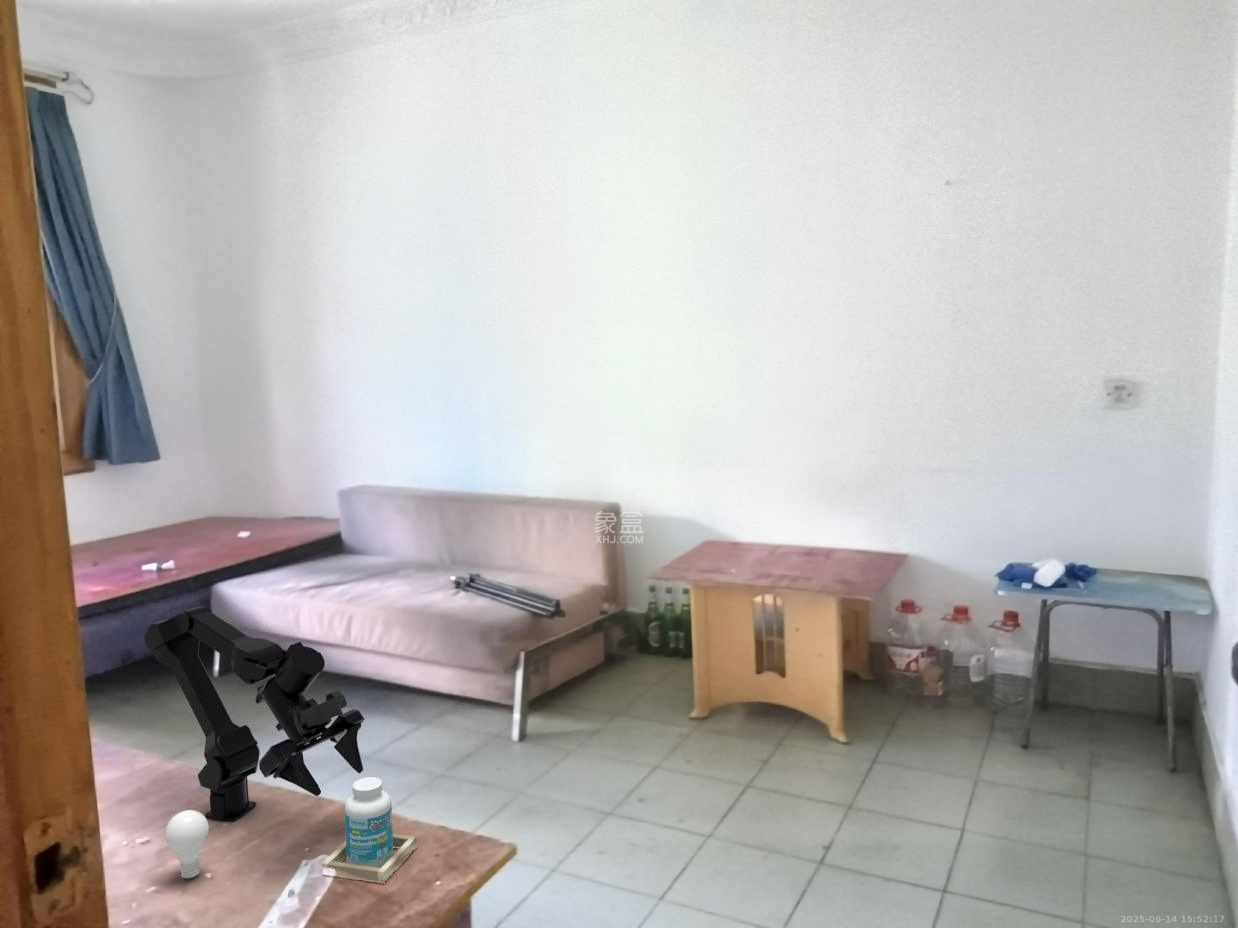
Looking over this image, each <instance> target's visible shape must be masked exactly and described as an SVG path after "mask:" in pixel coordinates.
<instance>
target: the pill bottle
mask: <svg viewBox="0 0 1238 928" xmlns="http://www.w3.org/2000/svg"><path fill="white" fill-rule="evenodd" d="M392 807H393V806H392V798H391V795H389V794H388V793H387V792H386V791H384V790H383V782H382V780H381V779H380V778H378V777H373V776H371V777H363V778H360V779H358V780H356V781H354V782H353V784H352V794H351V795H350V796H349V797H348V798H347V800H346V801H345V804H344V822H345V826H344V827H345V841H346V851H347V858H346V862H347V863H348V864H355V865H362V866H369V867H376V868H382V866H383V865H384V864H385V863H386V862H387V861H388V860H389V859H390V858H391V857H392V856H393V855H394V848H393V834H394V833H393V832H394V831H393V828H394V827H393V808H392Z"/></svg>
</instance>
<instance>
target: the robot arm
mask: <svg viewBox="0 0 1238 928" xmlns="http://www.w3.org/2000/svg"><path fill="white" fill-rule="evenodd" d="M144 642H145V643H144V644H145V645H146V647H147V648H148V649H149V651H150V653H151V654H152V655H153V657H154V659H155V660H156V661H157V662H158V663H160V664H162V665H164V666H166V667H167V668H169V669H170V670H172V672H173V675H174V676H175V679H176V680H177V682H178V684H179V686H180V688H181V691H182V692H183V695H184V697H185V698H186V700H187V702H188V704H189V706H190V709H191V710H192V712H193V715H194V716H195V719H196V720H197V722H198V724H199V726H200V728H201V730H202V733H204V734H203V735H204V736H205V744H204V753H203V757H204V759H205V762H206V763H205V764H204V766H203V767H202V769H201V770H200V771H199V772H198V774H197V777H198V782H199V785H200V787H203V788H205V789H208V790H209V793H210V795H209V804H210V810H209V811H207V812H206V813H205V814H204V816H205V817H206V819H214V820H221V821H222V820H223V821H229V822H235V821H237V820H238V819H240V818H241V817H243V816H244V815H246V813H248V812H249V811H250V810H251V809H253V808H255V807H256V806H257V802H256V801H250V800H249V799H250V796H249V784H248V783H249V782H248V777H249V776H251V775H255V774H256V773H257V769H259V770H260V772H261V774H262V775H263V777H264V778H268V777H270V776H272V778H273V779H277V778H280V779H281V780H284V781H286V782H287V783H288V782H289V783H291V784H294V785H295V786H297V787H299V788H301V789H302V790H305V791H307V792H308V793H311V794H312V795H314V797H318V796H320V795H321V794H322V790H321V788H320V786H319V784H318V782H317V781H316V779H315V778H314V776H313V775H312V774H311V773H312V772H311V771H310V770H309V769H308V767H307V765H306V764H305V761H304V760H305V759H304V752H305V751H308V750H310V749H312V748H314V747H316V746H318V745H320V744H322V743H325V742H326V741H328V740H330V742H332V743H335V745H334V746H333V748H334V750H336V751H337V752H338V753H339V755H340V756H341V757H342V758H343V759H344V761H346V762H347V764H348V765H349V766H350V767H351V768H352V769H353V770H354V771H355V772H356V773H357V774H361V773H362V772H363V771H364V767H363V766H364V765H363V762H362V758H361V753H360V749H359V745H358V744H359V743H358V733H359V731H360V729H361V728H362V723H363V722H364V721H365V719H366V718H365V716H363V714H362V713H361V711H360V710H358V709H354V708H352V709H351V710H348V711H346V712H344V713H343V709H344V708H346V707H347V705H348V702H347V699H346V697H345V695H344V694H343V693H342V692H341V690H340V689H337V690H334V691H332V692H329V693H328V694H326V695H325V698H326V699H325V701H323V702H321V703H318V702H317V701H316V699H314V698H310V699H308V698H307V697H306V695H305V694H304V693H305V691H307V690H308V689H309V688H310V686H311V685H312V684H313V683H314V681H315V680H316V679H317V678H318V676H319V675H320V674H321V672H322V671H323V670H324V668H325V667H326V666H325V664H326V662H325V658H324V656H323V654H321V652H319V651H318V650H316V649H314V648H313V647H310V646H304V644H303V643H302V642H301V641H297V642H294V643H292V644H290V645H289V646H288V648H287V649H284V648H282V646H280V645H279V644H278V643H276V642H274V641H271V640H268V639H266V638H261V637H251V636H249V635H247V634H245V633H243V632H242V631H241V630H239V629H238V628H236V627H234V626H232V625H231V624H230V623H228V622H226V621H225V620H223V619H222V618H220V617H218V615H216V614H215V613H213V612H212V610H211V609H210V608H209V607H208V606H203V605H202V606H197V607H193V608H190V609H186V610H182V612H180V613H178V614H177V615H175V616H173V617H171V618H168V619H166V620H161V621H158V622H154V623H151V624H150V625H149V626H148V628H147V631H146V632H145V634H144ZM201 642H202V643H203V644H205V645H207V646H208V647H209V648H211V649H212V650H214V651H216V652H217V653H218V654H220V655H221V656H223V657H224V658H226V659H228V661H229V662H230V664H231V670H232V672H233V673H234V674H235V675H236V676H237V677H238V678H239V679H241V681H243V682H244V683H245V684H247V685H253V684H256V683H259V682H262V681H264V680H267V681H266V683H265V684H264V685H261V686H258V687H257V689H256V690H257V691H256V697H255V703H256V704H257V705H259V704H261V703H263V702H265V704H266V705H267V706H268V708H269V709H270V712H272V714H273V716H274V718H275V719H276V721H277V722H278V723H277V724H276V725H275V729H276V730H277V731H278V732H280V731H284V732H285V734H286V736H287V737H288V738H287V739H285V740H283V741H280V742H277V743H276V744H273V745H271V746H270V747H269V749H268V750H267V751H266V753H265V754H264V755H263V756H262V758H260V756H261V755H260V754H261V752H260V748H259V746H258V744H259V743H258V741H257V740H256V738H255V737H254V735H253V734H252V733H253V732H252V731H251V728H250V727H249V726H248V725H247V724H245V725H242V726H240V725H238V724H236V723H235V722H233V720H232V719H231V715H229V713H228V711H227V709H226V706H225V705H224V702H223V701H222V700H221V697H220V695H219V693H218V692H217V689H216V687H215V685H214V683H213V682H212V679H211V678H210V676H209V674H208V673H209V672H207V670H206V668H205V665H204V664H203V662H202V660H201V658H200V655H199V653H200V644H201ZM335 717H336V718H335ZM332 718H335V719H334V721H333V720H332ZM332 721H333V722H332ZM331 722H332V723H331ZM330 723H331V725H330ZM328 725H330V726H329V727H327V726H328ZM259 759H260V760H259ZM258 765H259V767H258Z"/></svg>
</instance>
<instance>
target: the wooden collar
mask: <svg viewBox="0 0 1238 928" xmlns="http://www.w3.org/2000/svg"><path fill="white" fill-rule="evenodd" d="M417 840H418V839H417V836H413V835H412V836H410V835H405V834H404V835H403V834H398V833H393V846H394V847H400V848H399V849H397V850H396V851H395V852H394V853H393V856H392V857H391V858H390V859H389V860H388V861H387V862H386V863H385V864H384V865H383V866H382V868H376V867H369V866H362V865H355V864H348V863H346V862H344V861H345V860H346V859H347V858H346V857H347V851H346V840H345V841H344V842H343V843H342V844H341V845H340V846H339V847H338V848H336V850H334V852H332V853H331V854H330V855H329V856H328V857H327V858H326V859H324V860H323V862H322V863H321V868H322V867H323V868H324V867H325V868H332V869H335V871H336V872H337V874H338V875H343V876H347V877H354V878H360V879H364V880H365V879H366V880H373V881H374V880H375V881H381V882H384V881H385V880H386V879H387V878H388V877H389V876H390V875H391V874H392V873H393V872H394V871H395V869H396V868H397V867H398V866H399V865H400V864H401V863H402V862H403V861H404V859H405V858H406V857H407V856H408V855H409V854H410V853H411V852H412V850H414V849H415V848H416V847H417V848H418V843H417V842H418V841H417ZM345 858H346V859H345ZM344 859H345V860H344ZM343 860H344V861H343ZM341 861H343V862H342V863H341Z"/></svg>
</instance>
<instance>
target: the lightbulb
mask: <svg viewBox="0 0 1238 928" xmlns="http://www.w3.org/2000/svg"><path fill="white" fill-rule="evenodd" d="M209 829H210V825H209V821H208V818H206V817H205V814H203V813H202V812H200V811H198V810H194V809H186V810H182V811H180V812H178V813H176V814H175V815H174V816H172V818H170V819H169V821H168V822H167V824H166V827H165V830H164V839H165V843H166V844H167V846H168V847H169V848H170V849H171V850H172V851H173V852H174V853H175V855H176V858H177V860H178V862H179V865H180V866H179V867H180V877H181V878H184V879H194V878H195V877H196V876H197V875H198V874H199V873H200V862H199V857H200V855H201V850H202V847H203V846H204V843H205V842H206V840H207V838H208V835H209Z"/></svg>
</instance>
